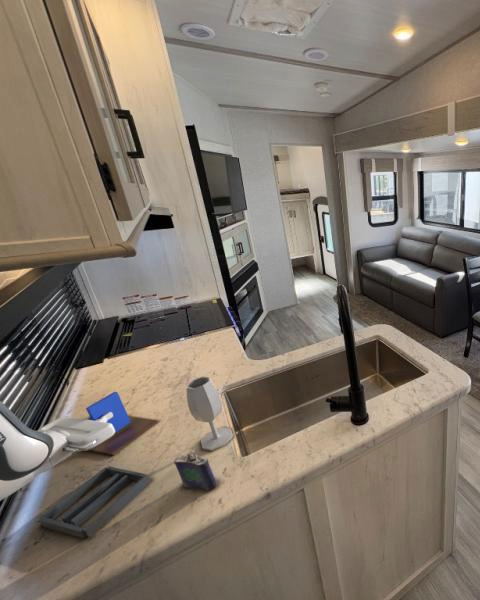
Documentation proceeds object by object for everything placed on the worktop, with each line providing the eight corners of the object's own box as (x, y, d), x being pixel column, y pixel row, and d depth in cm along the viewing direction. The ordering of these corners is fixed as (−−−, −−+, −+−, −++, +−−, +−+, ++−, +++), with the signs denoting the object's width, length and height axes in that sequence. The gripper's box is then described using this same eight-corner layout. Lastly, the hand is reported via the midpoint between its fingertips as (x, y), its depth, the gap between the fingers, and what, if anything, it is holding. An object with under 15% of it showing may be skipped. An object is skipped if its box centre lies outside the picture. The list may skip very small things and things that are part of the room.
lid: (101, 439, 95) (85, 408, 91) (128, 421, 102) (114, 391, 98) (104, 440, 95) (88, 408, 90) (131, 421, 102) (117, 391, 98)
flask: (181, 488, 79) (168, 456, 76) (191, 478, 82) (178, 446, 78) (212, 492, 77) (200, 460, 74) (221, 482, 80) (210, 450, 76)
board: (74, 448, 94) (73, 446, 94) (122, 417, 107) (121, 414, 107) (113, 456, 91) (112, 453, 90) (158, 422, 103) (157, 420, 103)
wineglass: (238, 436, 95) (221, 379, 88) (209, 456, 88) (188, 395, 81) (224, 425, 100) (206, 370, 93) (195, 443, 93) (174, 385, 86)
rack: (41, 526, 72) (36, 519, 71) (110, 472, 85) (107, 465, 84) (87, 540, 68) (82, 532, 67) (151, 481, 82) (148, 474, 81)
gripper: (74, 444, 80) (129, 408, 92) (21, 434, 85) (80, 401, 97) (84, 462, 82) (136, 425, 94) (32, 451, 87) (88, 417, 99)
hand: (107, 413), depth 96 cm, fingers closed on lid, 1 cm apart
